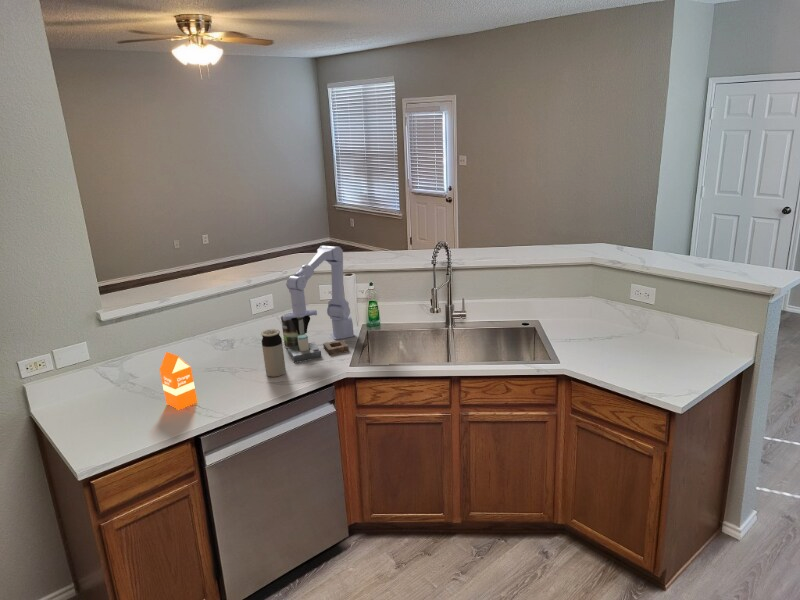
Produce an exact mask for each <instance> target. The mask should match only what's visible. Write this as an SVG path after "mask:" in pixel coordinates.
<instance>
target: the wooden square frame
mask: <svg viewBox="0 0 800 600" xmlns="http://www.w3.org/2000/svg"><path fill="white" fill-rule="evenodd" d="M322 345H323V350H324V349H325V350H324V351H325V352H326V353H327V354H329V355H328V356H333V355H337V354H341V353H346V352H349V351H350V350H349V345H348V344H347V343H346V342H345V341H344V340H343V339H337V340H334V341H329V342H325V343H324V342H323V343H322ZM332 354H333V355H332Z"/></svg>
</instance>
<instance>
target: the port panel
mask: <svg viewBox="0 0 800 600" xmlns="http://www.w3.org/2000/svg"><path fill="white" fill-rule="evenodd" d="M308 345H309V350H307V351H302V352H300V351H299V345H297V346H292V347H288V348H287V351H288V355H289V357H290V359H291V360H292V361H294V362H293V363H295V362H296V363H301V362H306V361H309V360H310V359H311V360H315V359H320V358H322V351H321V349H320V347H318V345H317V344H316V343H315V342H308ZM305 360H306V361H305ZM300 361H301V362H300ZM296 363H295V364H296Z"/></svg>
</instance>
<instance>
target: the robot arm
mask: <svg viewBox="0 0 800 600" xmlns="http://www.w3.org/2000/svg"><path fill="white" fill-rule="evenodd" d="M323 262H327V263H328V264H330V267H331V299H330V300H329V301H327V308H326V313H327V316H328V317H329V318H330V319H331V326H332V333H330V336H331V337H332V338H333V339H334V341H338V340H343V339H346V338H352V337H355V334H354V332H355V331H354V323H353V319H352V317H351V315H350V314H351V309H350V305H349V301H348V300H347V299H345V297H344V295H345V294H344V250H343V249H342V248H341V247H340V246H337V245H336V246H332V245H331V246H330V245H324V244H323V245H320V246H319V248H317V249H316V253H315V254H314V256H313V258H311V260H310V261H309V262H308V264H303V265H301V267H300V268H299V269H298V271H296V272H295V273H294V274H293V275H291V276H289V277H288V278H287V281H286V283H285V286H286V287H287V289H288V292H289V294H290V300H291V301H290V302H291V308H292V312H291V313H290V314H289V313H286V314H287V315H285V314H283V315H282V316H283V320H284V321H286V320H289V319H291V320H292V322H293V324H294V325H295V327H296V330H297V333H298V335H299V334H300V331H299V321H298V319H297V318H300V317H302V318H303V323H304V332H305V334H307V333H308V326H309V323H310V321H311V316H318V311H317V310H316V309H310V310H307V305H306V297H305V288H306V287H307V283H308V281H309V280H310V279H311V277H313V275H314V273H315V269H317V267H319V266H320V265H321V264H322V263H323Z"/></svg>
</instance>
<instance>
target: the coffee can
mask: <svg viewBox="0 0 800 600" xmlns="http://www.w3.org/2000/svg"><path fill="white" fill-rule="evenodd" d="M287 314H290V313H286V314H284V315H287ZM280 319H281V327H282V335H283V341H284V342H283V344H284V347H285V349H288V347H292V346H297V345H299V343H298V337H297V336H299V335H305V334H306V333H305V332H304V323H303V318H302V317H300V318H297V319H298V321H299V331H300V334H299V335H298V333H297V330H296V327H295V325H294V324H293V322H292V320H291V319H289V320H286V321H284V320H283V315H282V316H281V317H280Z"/></svg>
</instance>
